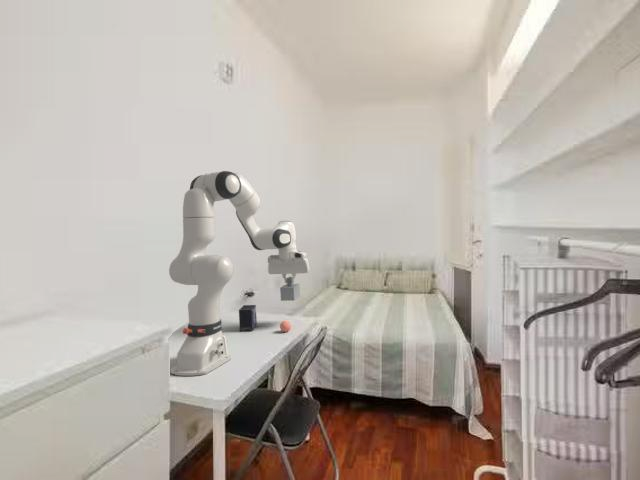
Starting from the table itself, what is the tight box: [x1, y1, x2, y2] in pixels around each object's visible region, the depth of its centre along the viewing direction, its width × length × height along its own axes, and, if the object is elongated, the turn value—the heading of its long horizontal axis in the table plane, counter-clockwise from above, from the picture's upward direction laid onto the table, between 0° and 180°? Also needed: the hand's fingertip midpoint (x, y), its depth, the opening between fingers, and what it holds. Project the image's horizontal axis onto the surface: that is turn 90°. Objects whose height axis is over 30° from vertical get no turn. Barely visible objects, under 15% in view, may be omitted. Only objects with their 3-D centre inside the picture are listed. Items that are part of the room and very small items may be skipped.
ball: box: [279, 320, 292, 333], centre depth 167 cm, size 5×5×5 cm
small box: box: [238, 304, 258, 332], centre depth 176 cm, size 11×6×10 cm, turn 179°
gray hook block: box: [279, 276, 301, 302], centre depth 178 cm, size 11×7×10 cm, turn 169°
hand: (289, 282), depth 178 cm, fingers closed on gray hook block
